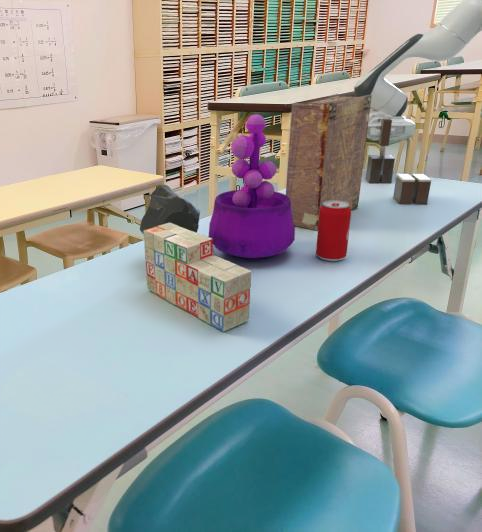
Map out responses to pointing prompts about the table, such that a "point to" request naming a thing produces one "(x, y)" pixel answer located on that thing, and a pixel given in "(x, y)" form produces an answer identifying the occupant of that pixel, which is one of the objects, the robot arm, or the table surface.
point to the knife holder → (379, 169)
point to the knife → (384, 138)
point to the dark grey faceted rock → (169, 211)
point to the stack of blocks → (196, 276)
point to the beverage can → (333, 230)
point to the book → (325, 154)
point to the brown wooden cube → (412, 188)
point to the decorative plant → (252, 204)
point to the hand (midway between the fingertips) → (385, 132)
